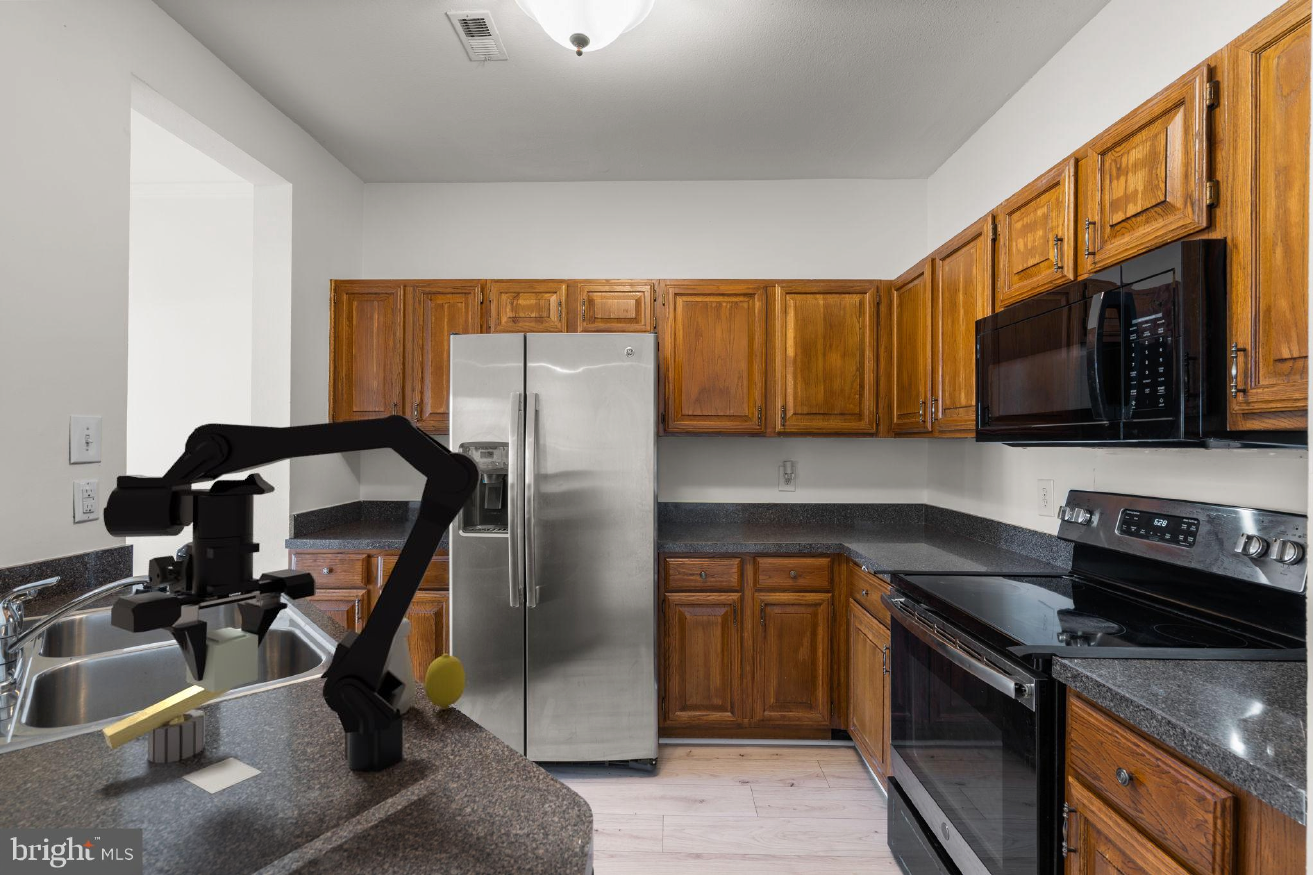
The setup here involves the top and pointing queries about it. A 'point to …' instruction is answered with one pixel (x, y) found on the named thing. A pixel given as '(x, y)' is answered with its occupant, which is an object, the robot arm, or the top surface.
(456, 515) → the robot arm
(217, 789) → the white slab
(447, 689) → the lemon
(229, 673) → the pale green block
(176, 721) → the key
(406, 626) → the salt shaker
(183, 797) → the top surface
